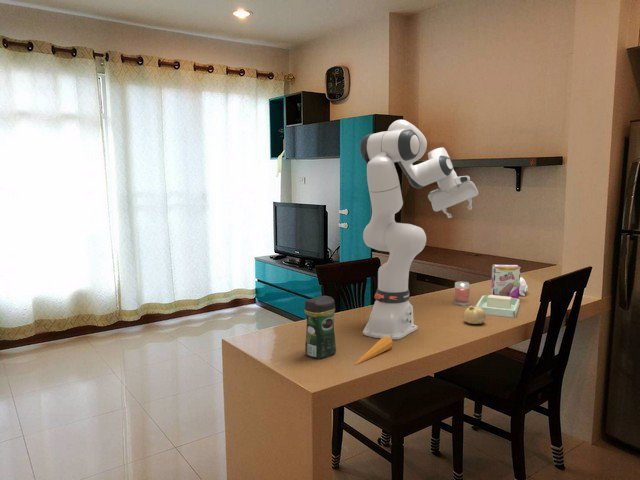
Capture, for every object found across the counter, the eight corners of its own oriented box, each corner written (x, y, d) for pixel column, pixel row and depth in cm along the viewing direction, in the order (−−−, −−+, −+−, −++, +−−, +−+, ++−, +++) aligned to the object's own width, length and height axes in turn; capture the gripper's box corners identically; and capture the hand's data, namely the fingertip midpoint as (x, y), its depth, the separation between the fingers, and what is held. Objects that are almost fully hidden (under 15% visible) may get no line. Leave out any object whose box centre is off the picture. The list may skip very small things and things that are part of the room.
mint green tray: (514, 319, 193) (515, 310, 192) (475, 315, 199) (475, 306, 199) (519, 306, 211) (519, 298, 210) (482, 303, 217) (482, 295, 217)
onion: (466, 319, 194) (467, 301, 194) (487, 322, 190) (488, 304, 189) (461, 324, 188) (461, 306, 187) (482, 327, 184) (483, 309, 183)
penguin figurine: (510, 276, 230) (518, 274, 239) (508, 294, 230) (517, 292, 240) (524, 278, 226) (532, 276, 235) (522, 296, 226) (531, 294, 236)
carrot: (386, 348, 165) (381, 335, 165) (396, 346, 162) (391, 333, 162) (351, 373, 150) (345, 359, 150) (362, 371, 147) (356, 357, 147)
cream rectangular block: (509, 309, 205) (510, 299, 204) (487, 306, 209) (487, 297, 208) (511, 306, 209) (511, 296, 209) (488, 303, 213) (489, 294, 213)
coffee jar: (323, 347, 164) (323, 292, 162) (339, 353, 158) (339, 296, 156) (300, 354, 158) (299, 297, 155) (316, 361, 152) (316, 302, 149)
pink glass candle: (467, 308, 209) (468, 285, 208) (452, 306, 212) (453, 283, 211) (470, 304, 215) (470, 282, 213) (455, 303, 217) (456, 280, 216)
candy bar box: (492, 303, 217) (494, 266, 215) (490, 300, 222) (491, 264, 220) (519, 303, 216) (521, 266, 214) (515, 300, 221) (517, 264, 219)
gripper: (427, 192, 213) (439, 222, 214) (472, 174, 211) (484, 204, 212) (425, 193, 219) (436, 222, 220) (469, 175, 218) (480, 204, 218)
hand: (460, 213), depth 216 cm, fingers open, 8 cm apart
